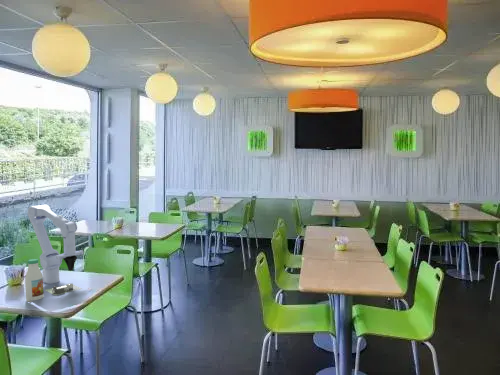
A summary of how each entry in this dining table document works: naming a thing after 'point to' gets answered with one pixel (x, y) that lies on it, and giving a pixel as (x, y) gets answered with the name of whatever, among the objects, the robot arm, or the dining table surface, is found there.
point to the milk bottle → (33, 281)
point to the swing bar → (67, 287)
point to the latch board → (62, 290)
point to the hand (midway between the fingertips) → (70, 270)
